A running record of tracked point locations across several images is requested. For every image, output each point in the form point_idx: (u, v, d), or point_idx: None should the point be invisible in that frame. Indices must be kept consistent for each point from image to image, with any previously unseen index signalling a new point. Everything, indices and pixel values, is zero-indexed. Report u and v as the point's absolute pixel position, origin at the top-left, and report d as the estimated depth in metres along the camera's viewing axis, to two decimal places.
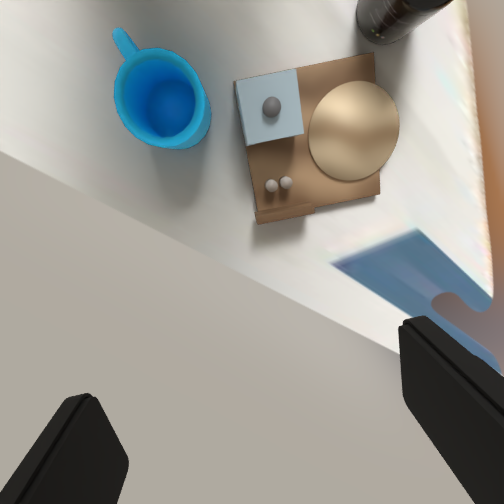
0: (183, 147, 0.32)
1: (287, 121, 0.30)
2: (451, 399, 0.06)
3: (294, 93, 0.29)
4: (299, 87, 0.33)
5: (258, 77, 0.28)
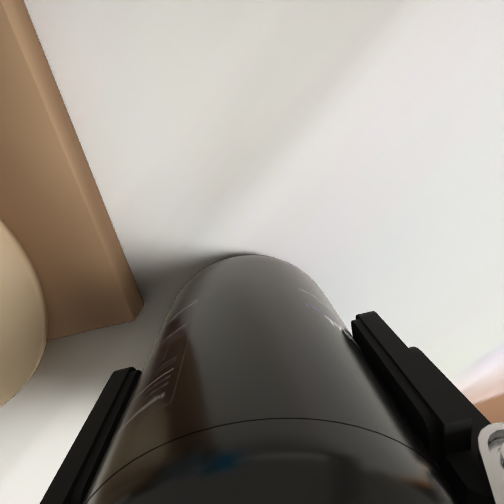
0: None
1: None
2: (386, 385, 0.07)
3: None
4: None
5: None
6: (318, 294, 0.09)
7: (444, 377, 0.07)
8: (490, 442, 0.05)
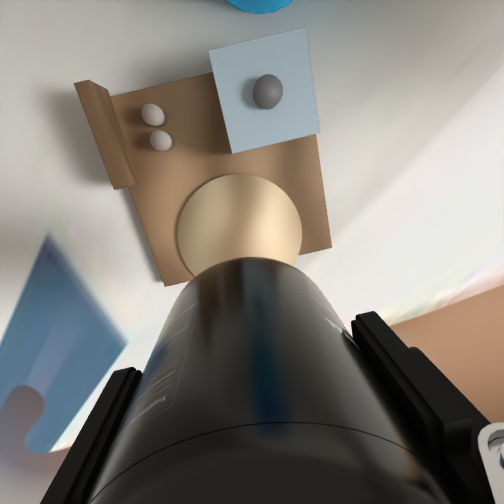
0: None
1: (248, 123, 0.19)
2: (386, 385, 0.07)
3: (287, 132, 0.19)
4: (294, 155, 0.24)
5: (309, 69, 0.18)
6: (318, 296, 0.09)
7: (444, 377, 0.07)
8: (490, 442, 0.05)
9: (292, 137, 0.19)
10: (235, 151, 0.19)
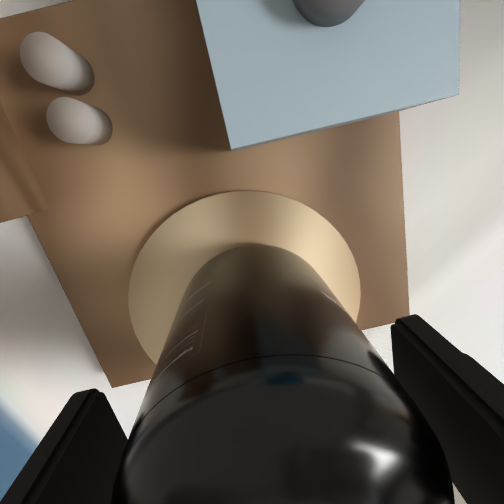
0: None
1: (274, 68, 0.07)
2: (440, 396, 0.06)
3: (375, 94, 0.07)
4: (354, 154, 0.12)
5: None
6: (316, 276, 0.10)
7: None
8: None
9: (387, 106, 0.07)
10: (239, 143, 0.07)
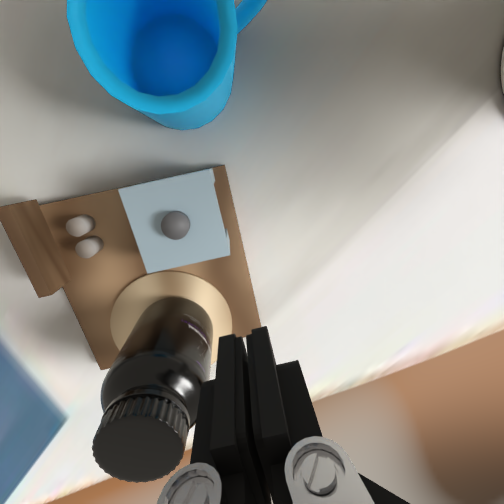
0: None
1: (161, 248, 0.20)
2: None
3: (199, 255, 0.20)
4: None
5: (215, 203, 0.19)
6: (194, 315, 0.23)
7: (306, 391, 0.07)
8: (303, 454, 0.06)
9: (204, 259, 0.20)
10: (150, 271, 0.20)
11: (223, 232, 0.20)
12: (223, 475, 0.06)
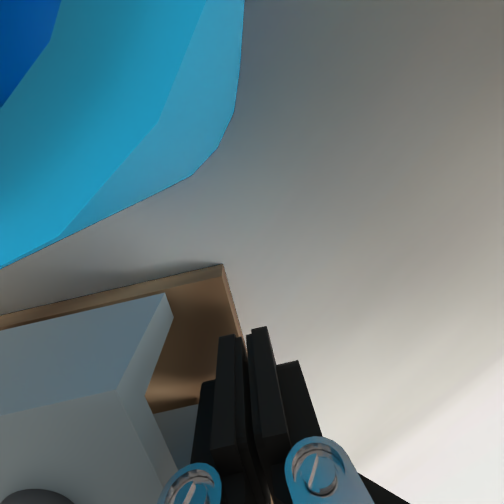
0: None
1: None
2: None
3: None
4: None
5: (147, 466, 0.06)
6: None
7: (306, 391, 0.07)
8: (303, 454, 0.06)
9: None
10: None
11: None
12: (223, 475, 0.06)
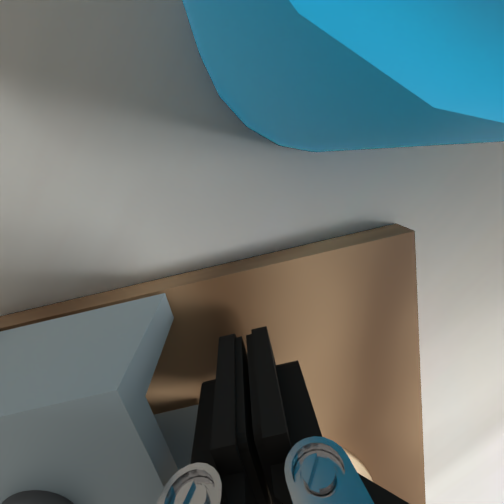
0: None
1: None
2: None
3: None
4: (376, 400, 0.12)
5: (148, 467, 0.06)
6: None
7: (306, 391, 0.07)
8: (303, 454, 0.06)
9: None
10: None
11: None
12: (223, 475, 0.06)
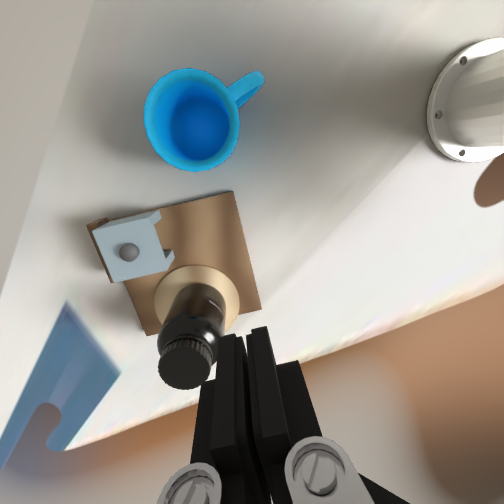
0: None
1: (121, 267, 0.31)
2: None
3: (146, 271, 0.31)
4: (231, 252, 0.36)
5: (154, 238, 0.30)
6: (213, 295, 0.34)
7: (306, 391, 0.07)
8: (303, 454, 0.06)
9: (150, 273, 0.31)
10: (115, 281, 0.31)
11: (161, 256, 0.31)
12: (223, 475, 0.06)
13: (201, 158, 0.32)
